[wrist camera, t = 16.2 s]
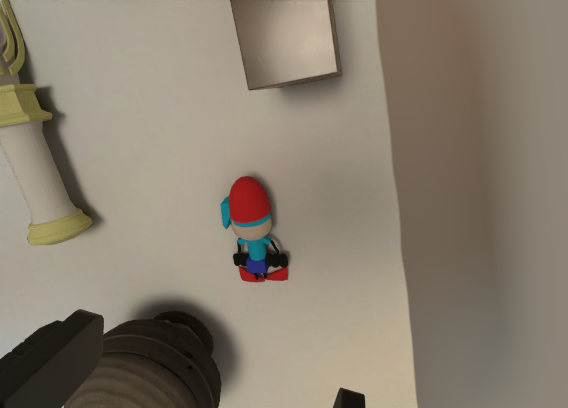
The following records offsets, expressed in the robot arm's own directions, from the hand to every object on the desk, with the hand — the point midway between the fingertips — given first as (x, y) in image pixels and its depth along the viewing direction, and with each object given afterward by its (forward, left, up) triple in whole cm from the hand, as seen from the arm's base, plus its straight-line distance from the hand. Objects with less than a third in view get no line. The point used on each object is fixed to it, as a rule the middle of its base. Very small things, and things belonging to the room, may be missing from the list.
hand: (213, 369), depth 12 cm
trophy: (+3, -35, -33) cm, 48 cm away
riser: (-15, -5, -33) cm, 37 cm away
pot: (+31, -13, -33) cm, 47 cm away
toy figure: (+10, -5, -33) cm, 35 cm away
